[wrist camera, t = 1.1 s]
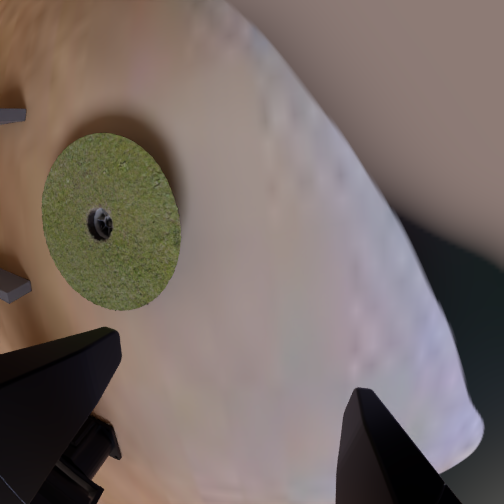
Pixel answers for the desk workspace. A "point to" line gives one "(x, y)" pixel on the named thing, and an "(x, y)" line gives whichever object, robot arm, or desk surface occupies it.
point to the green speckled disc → (111, 221)
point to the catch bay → (3, 281)
